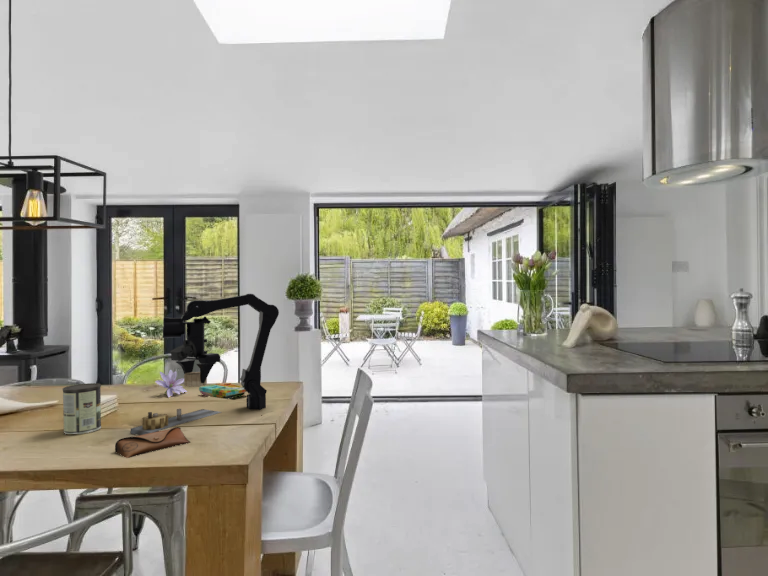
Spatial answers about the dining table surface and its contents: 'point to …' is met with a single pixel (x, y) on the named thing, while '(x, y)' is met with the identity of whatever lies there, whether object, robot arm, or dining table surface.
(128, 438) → the sunglasses case
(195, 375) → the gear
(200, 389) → the puzzle game
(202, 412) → the gear board
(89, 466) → the dining table surface
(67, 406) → the coffee can
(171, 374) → the water lily
